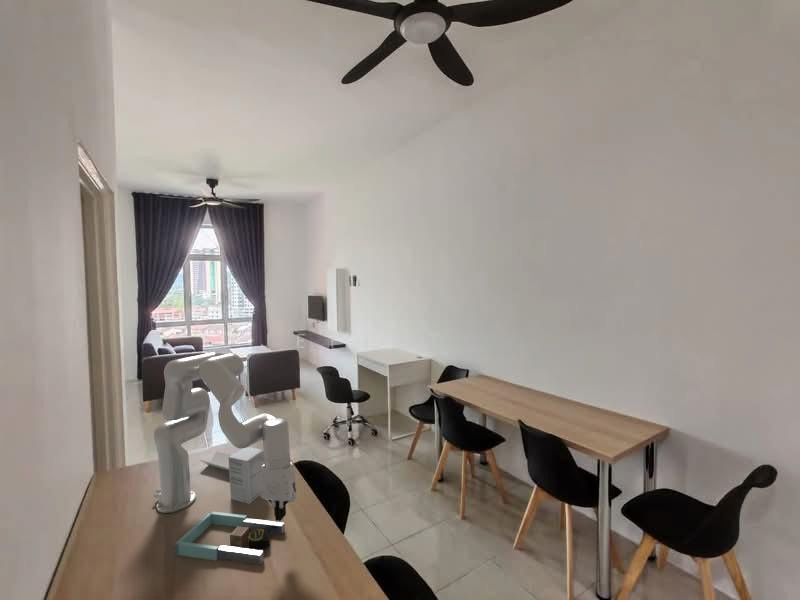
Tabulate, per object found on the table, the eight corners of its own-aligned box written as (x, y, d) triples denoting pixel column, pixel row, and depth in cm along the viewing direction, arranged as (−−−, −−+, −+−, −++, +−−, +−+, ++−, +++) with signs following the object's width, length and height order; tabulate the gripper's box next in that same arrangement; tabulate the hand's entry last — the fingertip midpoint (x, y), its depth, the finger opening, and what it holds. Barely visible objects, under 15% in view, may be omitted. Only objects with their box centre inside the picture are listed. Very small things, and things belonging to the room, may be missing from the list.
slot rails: (217, 559, 112) (217, 549, 112) (246, 526, 126) (246, 518, 126) (260, 565, 109) (259, 555, 109) (284, 531, 124) (284, 522, 123)
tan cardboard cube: (230, 546, 117) (229, 534, 117) (238, 538, 121) (237, 526, 121) (241, 548, 116) (241, 536, 116) (249, 539, 120) (248, 527, 120)
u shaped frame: (175, 554, 114) (174, 543, 114) (210, 520, 129) (210, 511, 129) (216, 560, 111) (215, 549, 111) (247, 525, 127) (247, 515, 127)
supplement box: (248, 486, 151) (246, 445, 149) (266, 490, 147) (264, 449, 146) (229, 499, 142) (227, 456, 140) (248, 504, 138) (246, 460, 137)
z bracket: (217, 469, 172) (225, 456, 176) (258, 481, 162) (265, 466, 166) (199, 460, 164) (208, 446, 168) (241, 472, 154) (249, 456, 157)
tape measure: (269, 550, 115) (269, 539, 115) (246, 556, 113) (245, 544, 113) (270, 536, 122) (270, 525, 121) (247, 540, 120) (247, 529, 119)
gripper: (247, 464, 112) (251, 523, 113) (294, 468, 109) (297, 528, 110) (261, 453, 119) (264, 508, 120) (305, 455, 116) (308, 512, 117)
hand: (280, 518), depth 115 cm, fingers closed
